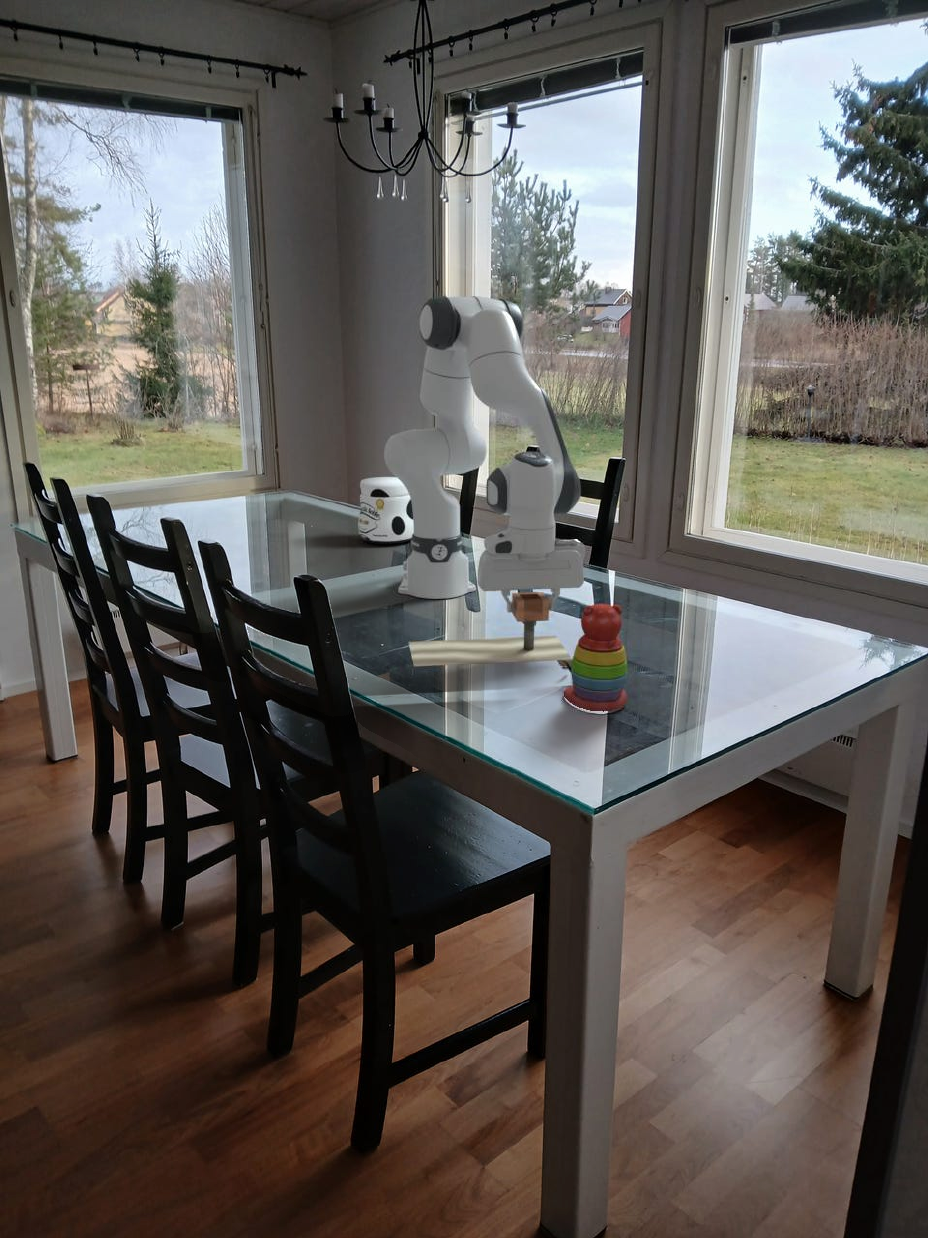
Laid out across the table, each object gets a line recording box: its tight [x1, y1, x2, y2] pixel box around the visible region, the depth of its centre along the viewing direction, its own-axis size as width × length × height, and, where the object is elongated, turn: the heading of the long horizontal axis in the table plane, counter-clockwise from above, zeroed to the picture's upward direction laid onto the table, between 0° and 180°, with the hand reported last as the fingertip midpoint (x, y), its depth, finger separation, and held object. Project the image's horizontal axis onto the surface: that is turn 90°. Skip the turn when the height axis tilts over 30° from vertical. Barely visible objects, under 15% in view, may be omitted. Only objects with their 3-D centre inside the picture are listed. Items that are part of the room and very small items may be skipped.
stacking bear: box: [563, 603, 628, 712], centre depth 158 cm, size 11×10×18 cm
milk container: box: [357, 476, 414, 545], centre depth 278 cm, size 17×17×18 cm
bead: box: [511, 591, 550, 623], centre depth 181 cm, size 6×6×4 cm
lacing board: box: [407, 621, 573, 667], centre depth 182 cm, size 14×30×10 cm, turn 97°
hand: (530, 610), depth 181 cm, fingers closed on bead, 6 cm apart
